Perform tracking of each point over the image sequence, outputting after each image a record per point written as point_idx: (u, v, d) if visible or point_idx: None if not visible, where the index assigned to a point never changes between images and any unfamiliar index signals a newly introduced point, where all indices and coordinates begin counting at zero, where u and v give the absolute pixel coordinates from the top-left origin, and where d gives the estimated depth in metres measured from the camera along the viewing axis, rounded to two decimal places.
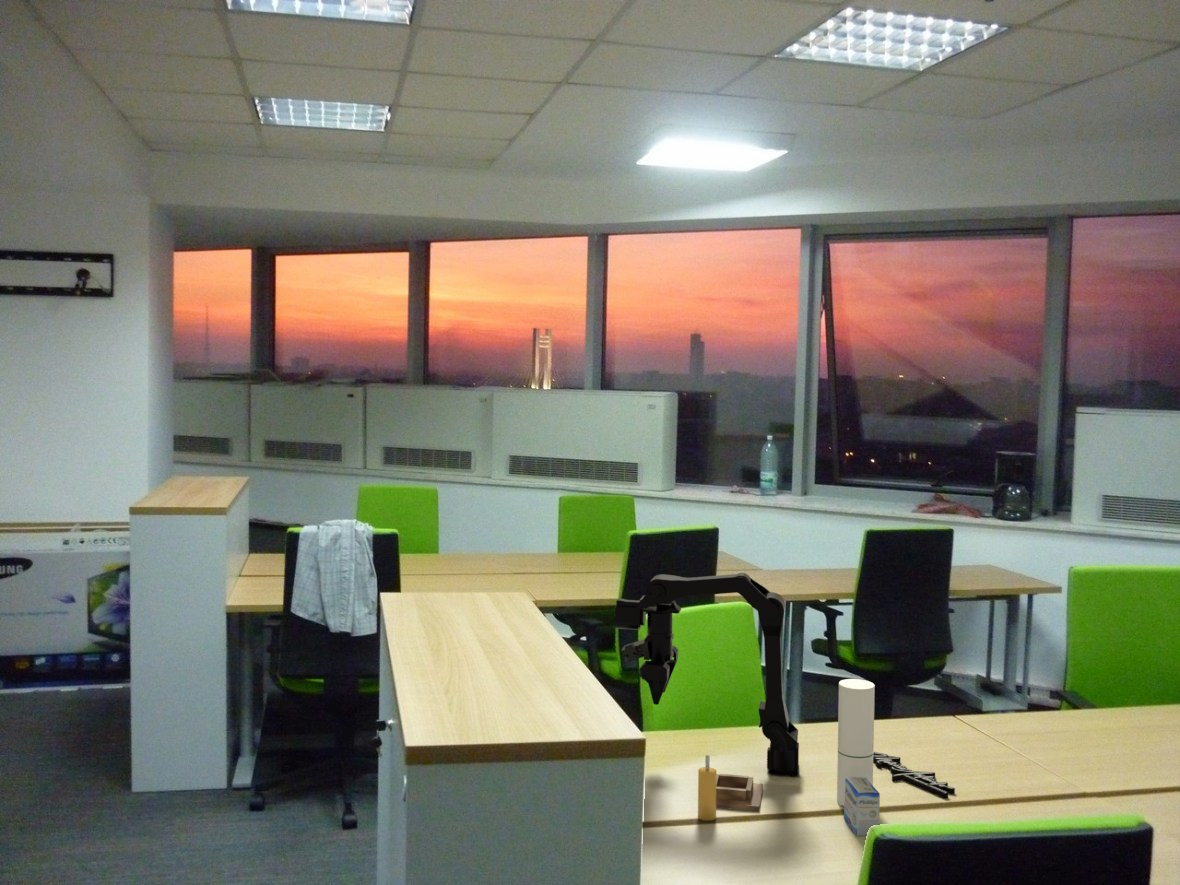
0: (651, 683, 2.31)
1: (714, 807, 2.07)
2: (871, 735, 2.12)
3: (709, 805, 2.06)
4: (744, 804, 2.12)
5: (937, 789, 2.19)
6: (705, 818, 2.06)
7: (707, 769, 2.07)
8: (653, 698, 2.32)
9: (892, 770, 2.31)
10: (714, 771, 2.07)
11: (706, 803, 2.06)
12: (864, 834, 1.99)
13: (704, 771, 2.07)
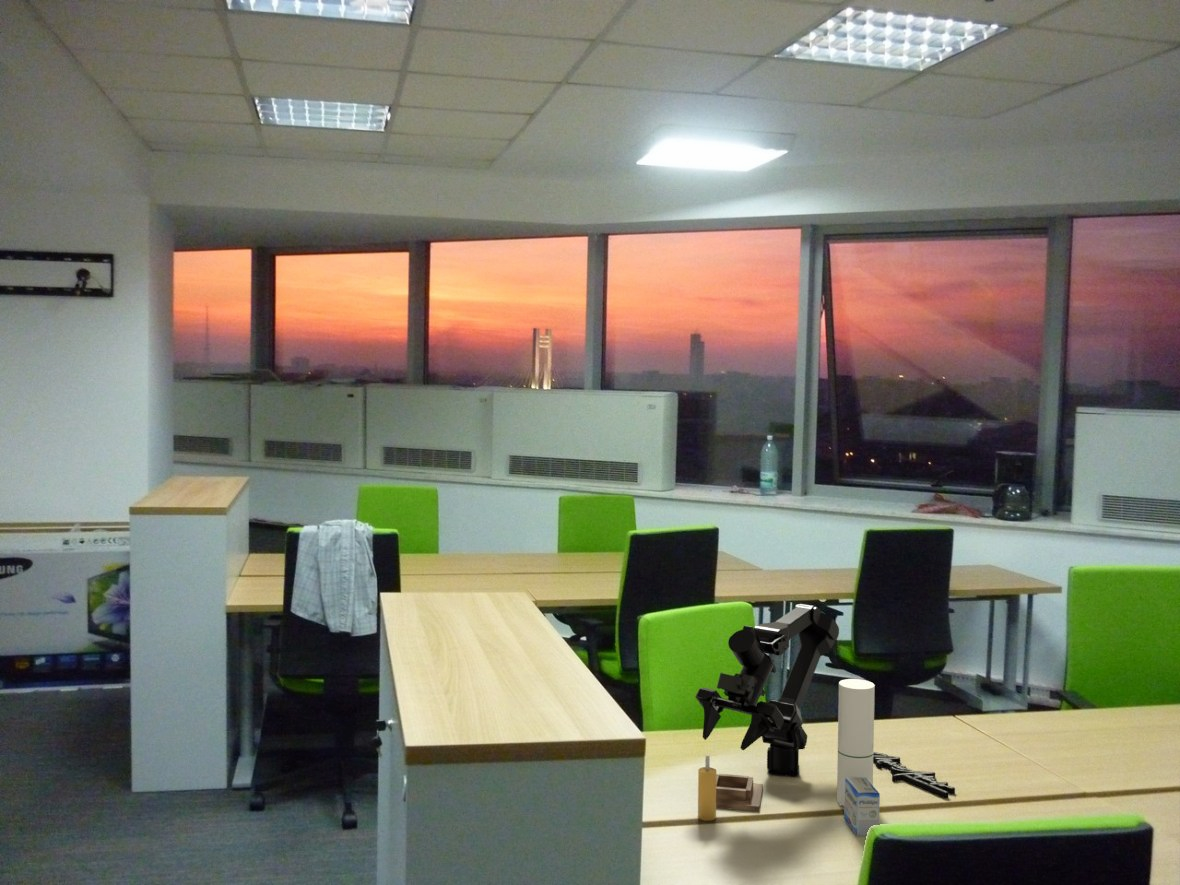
0: None
1: (714, 807, 2.07)
2: (871, 735, 2.12)
3: (709, 805, 2.06)
4: (744, 804, 2.12)
5: (937, 789, 2.19)
6: (705, 818, 2.06)
7: (707, 769, 2.07)
8: (746, 742, 2.08)
9: (892, 770, 2.31)
10: (714, 771, 2.07)
11: (706, 803, 2.06)
12: (864, 834, 1.99)
13: (704, 771, 2.07)
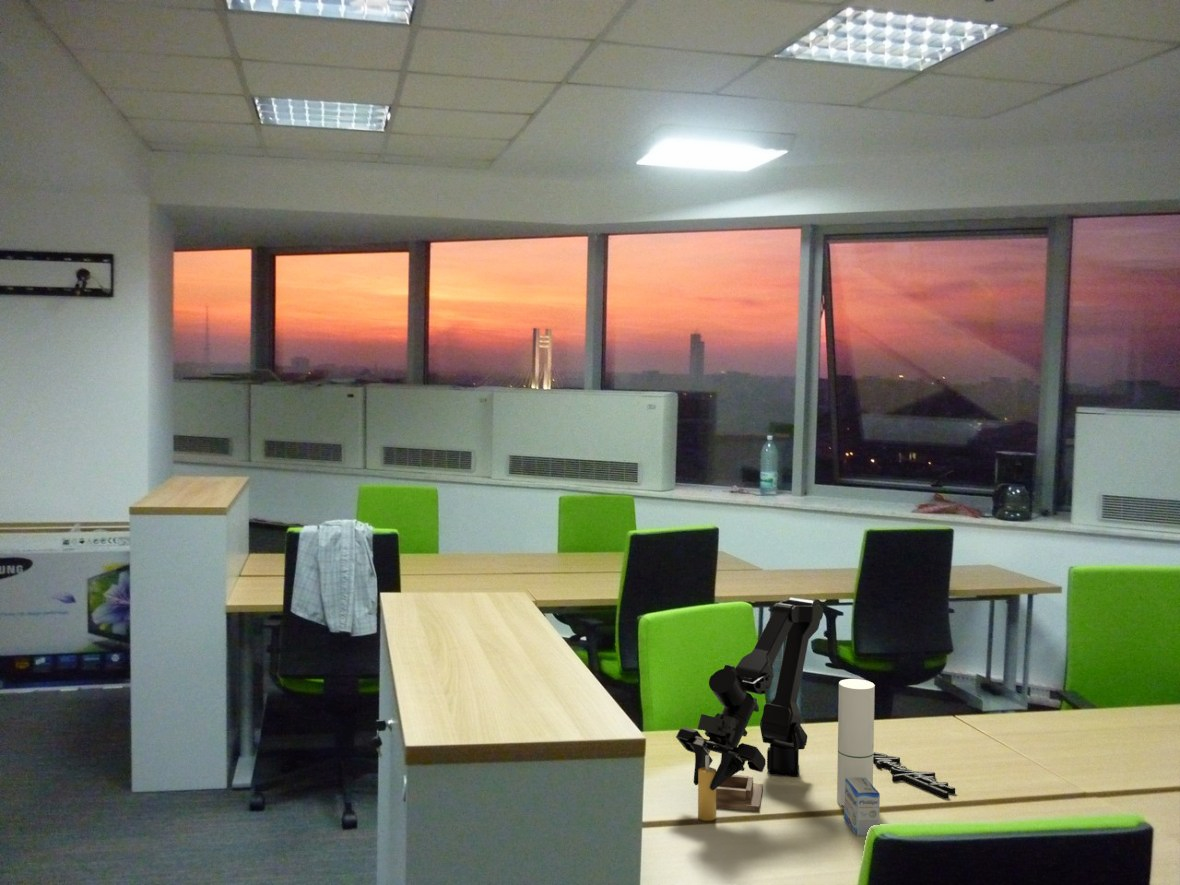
0: None
1: (714, 807, 2.07)
2: (871, 735, 2.12)
3: (709, 805, 2.06)
4: (744, 804, 2.12)
5: (938, 789, 2.19)
6: (705, 818, 2.06)
7: (707, 769, 2.07)
8: (716, 782, 2.05)
9: (892, 770, 2.31)
10: (714, 771, 2.07)
11: (706, 803, 2.06)
12: (864, 834, 1.99)
13: (704, 771, 2.07)
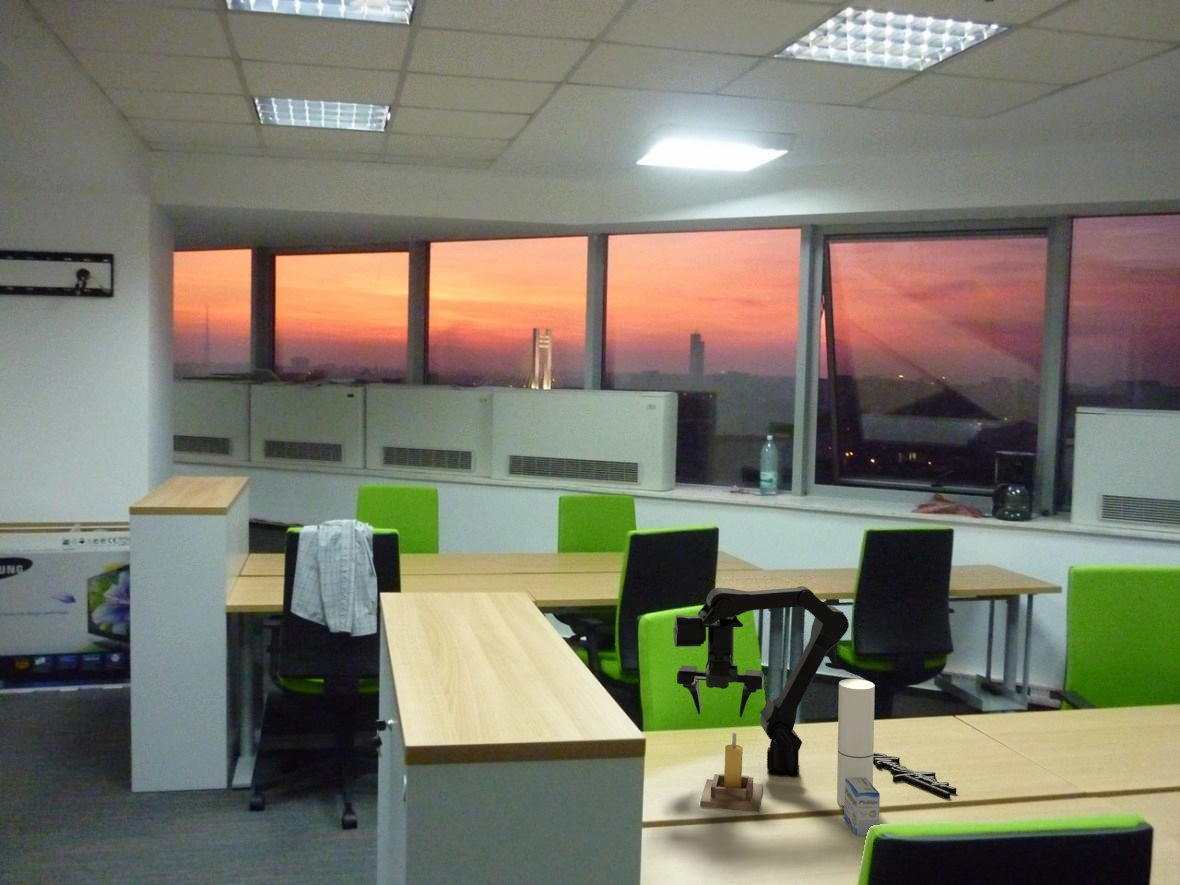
0: None
1: (740, 782, 2.17)
2: (871, 735, 2.12)
3: (735, 780, 2.16)
4: (744, 804, 2.12)
5: (939, 789, 2.19)
6: None
7: (734, 746, 2.17)
8: None
9: (892, 770, 2.30)
10: (740, 748, 2.17)
11: (733, 779, 2.16)
12: (864, 834, 1.99)
13: (731, 748, 2.17)
